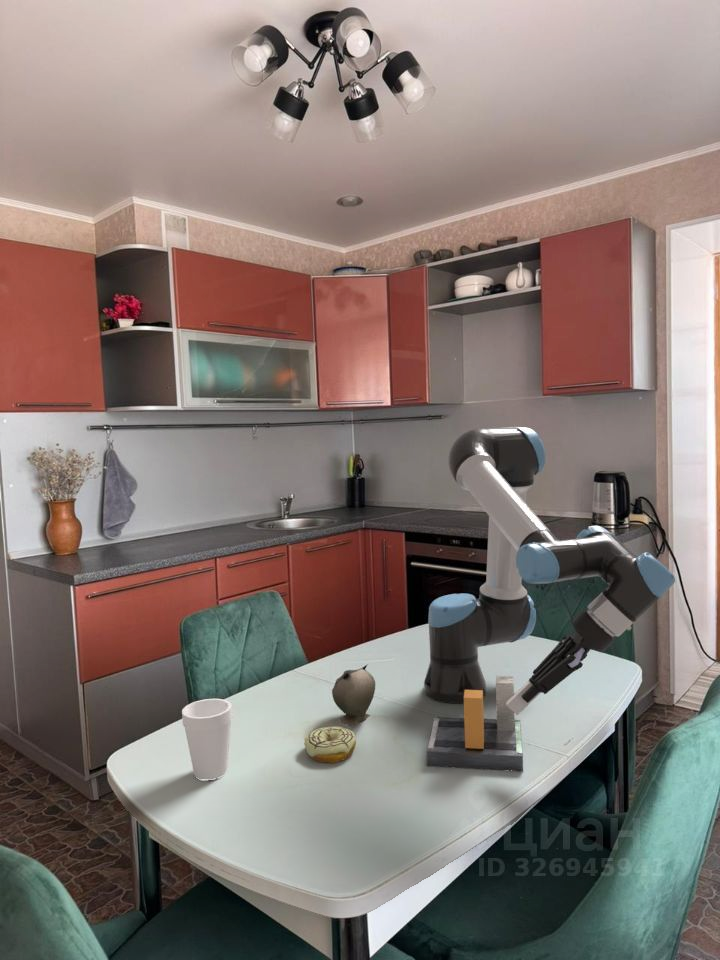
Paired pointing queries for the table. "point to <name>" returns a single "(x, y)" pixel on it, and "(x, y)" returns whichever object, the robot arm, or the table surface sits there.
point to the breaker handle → (474, 719)
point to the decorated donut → (330, 744)
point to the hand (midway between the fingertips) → (511, 708)
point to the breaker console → (498, 738)
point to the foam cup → (208, 736)
